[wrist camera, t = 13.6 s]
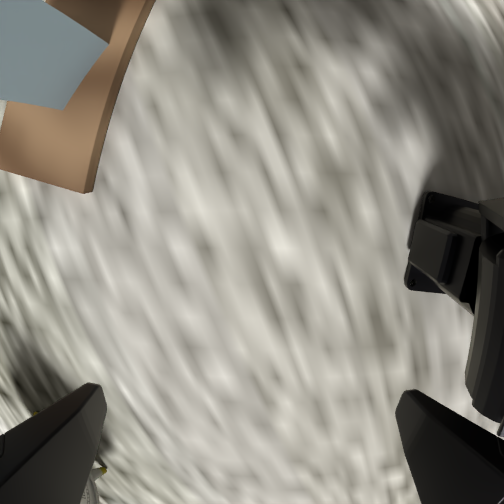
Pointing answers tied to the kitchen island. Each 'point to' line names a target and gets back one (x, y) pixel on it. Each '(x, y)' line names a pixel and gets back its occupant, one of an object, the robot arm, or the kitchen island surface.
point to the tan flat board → (75, 102)
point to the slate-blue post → (43, 53)
